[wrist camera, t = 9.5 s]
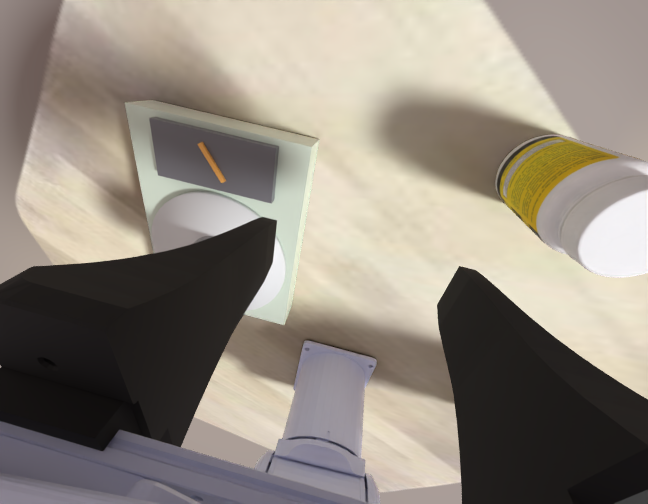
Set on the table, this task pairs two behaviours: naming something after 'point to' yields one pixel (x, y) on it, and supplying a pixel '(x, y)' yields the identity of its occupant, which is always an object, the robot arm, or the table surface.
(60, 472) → the robot arm
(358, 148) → the table surface
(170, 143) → the scale
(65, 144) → the table surface
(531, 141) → the supplement bottle
